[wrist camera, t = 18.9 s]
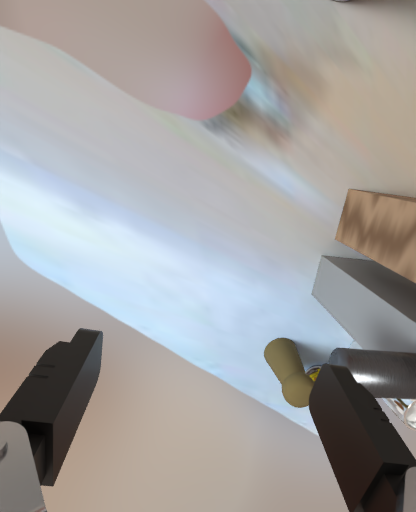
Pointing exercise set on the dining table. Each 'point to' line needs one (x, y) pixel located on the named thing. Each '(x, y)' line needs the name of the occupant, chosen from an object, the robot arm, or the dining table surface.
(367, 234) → the tall stand
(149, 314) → the dining table surface
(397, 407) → the beer glass
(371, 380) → the black gold-banded rod
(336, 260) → the grey magazine holder
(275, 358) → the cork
